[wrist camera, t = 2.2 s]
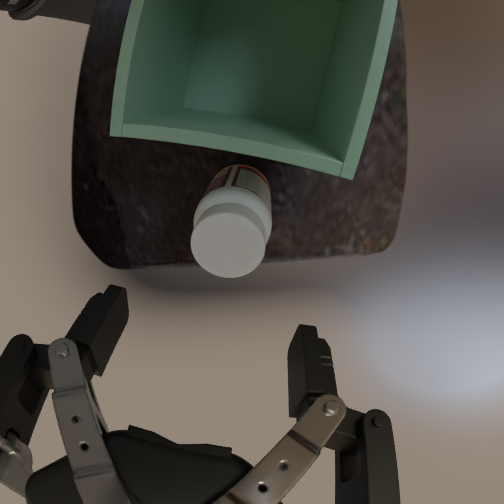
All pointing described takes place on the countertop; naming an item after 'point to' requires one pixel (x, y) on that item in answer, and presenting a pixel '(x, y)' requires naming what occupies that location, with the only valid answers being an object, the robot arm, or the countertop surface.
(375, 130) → the countertop surface
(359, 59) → the mint green storage bin
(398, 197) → the countertop surface
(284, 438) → the robot arm
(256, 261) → the pill bottle
